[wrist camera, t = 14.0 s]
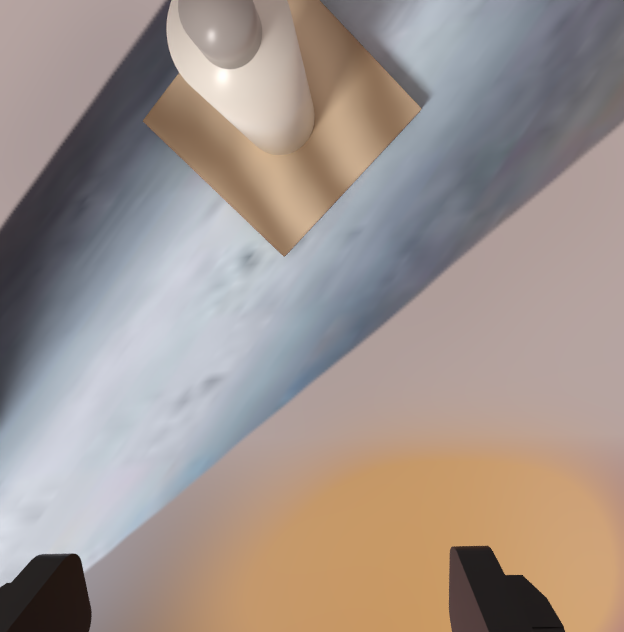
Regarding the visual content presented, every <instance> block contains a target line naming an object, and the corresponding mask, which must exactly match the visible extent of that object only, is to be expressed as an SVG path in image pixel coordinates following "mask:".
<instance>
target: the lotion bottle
mask: <svg viewBox="0 0 624 632" xmlns="http://www.w3.org/2000/svg"><path fill="white" fill-rule="evenodd" d="M167 41H168V46H169V50H170V54H171V57H172V59H173V62H174V64H175V66H176V68H177V69H178V71H179V73H180V74H181V76H182V77H183V78H184V80H185V81H186V82H187V83H188V84H189V85H190V86H191V87H192V88H193V89H194V90H195V91H196V92H198V93H199V94H200V95H201V96H202V97H203V98H204V99H205V100H206V101H207V102H209V103H210V104H211V105H212V106H213V107H214V108H215V109H216V110H217V111H218V112H220V113H221V114H222V115H223V116H224V117H225V118H226V119H227V120H228V121H229V122H230V123H232V124H233V125H234V126H235V127H236V128H237V129H238V130H239V131H240V132H241V133H243V134H244V135H245V136H246V137H247V138H248V139H249V140H250V141H251V142H252V143H253V144H255V145H256V146H257V147H258V148H259V149H261V150H262V151H264V152H266V153H269V154H272V155H286V154H290V153H292V152H295V151H296V150H298V149H299V148H301V147H302V146H303V145H304V144H305V143H306V141H307V140H308V139H309V137H310V135H311V133H312V130H313V127H314V121H315V112H314V106H313V102H312V98H311V94H310V90H309V86H308V81H307V77H306V73H305V69H304V65H303V60H302V56H301V52H300V48H299V44H298V40H297V35H296V31H295V27H294V23H293V19H292V15H291V11H290V7H289V4H288V1H287V0H172V1H171V3H170V7H169V11H168V17H167Z"/></svg>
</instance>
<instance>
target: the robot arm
mask: <svg viewBox="0 0 624 632" xmlns="http://www.w3.org/2000/svg"><path fill="white" fill-rule="evenodd" d="M449 613H450V621H451V628H452V632H565V630H564V626H563V625H562V623H561V621H560V620H559V618H558V616H557V615H556V613H555V611H554V610H553V608H552V606H551V605H550V603H549V601H548V599H547V598H546V597H545V596H544V595H543V594H542V593H541V592H539V590H538V589H537V588H535V587H534V586H533V585H532V584H531V583H530V582H529V581H528V580H527V579H526V578H525V577H524V576H523V575H505V574H504V572H503V570H502V569H501V566H500V564H499V562H498V560H497V558H496V557H495V555H494V553H493V551H492V549H491V548H490V547H489V546H462V547H461V546H459V547H451V549H450V574H449ZM90 624H91V606H90V601H89V597H88V592H87V587H86V582H85V578H84V572H83V568H82V563H81V559H80V557H79V556H78V555H77V554H41V555H38V556H36V557H35V558H33V559H32V560H31V561H30V562H29V563H28V565H27V566H26V567H25V568H24V569H23V570H22V571H21V572H20V574H19V575H18V576H17V577H16V578H15V579H14V580H13V581H12V582H11V583H6V584H5V585H3V586H2V587H1V588H0V632H89V629H90Z"/></svg>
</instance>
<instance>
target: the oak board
mask: <svg viewBox="0 0 624 632" xmlns="http://www.w3.org/2000/svg"><path fill="white" fill-rule="evenodd" d="M287 1H288V4H289V7H290V11H291V15H292V19H293V23H294V27H295V31H296V35H297V40H298V44H299V48H300V52H301V56H302V60H303V65H304V69H305V73H306V77H307V81H308V86H309V90H310V94H311V98H312V102H313V106H314V112H315V121H314V127H313V130H312V133H311V135H310V137H309V139H308V140H307V141H306V143H305V144H304V145H303V146H302V147H301V148H299V149H298V150H296V151H295V152H292V153H290V154H286V155H272V154H269V153H266V152H264V151H262V150H261V149H259V148H258V147H257V146H256V145H255V144H253V143H252V142H251V141H250V140H249V139H248V138H247V137H246V136H245V135H244V134H243V133H241V132H240V131H239V130H238V129H237V128H236V127H235V126H234V125H233V124H232V123H230V122H229V121H228V120H227V119H226V118H225V117H224V116H223V115H222V114H221V113H220V112H218V111H217V110H216V109H215V108H214V107H213V106H212V105H211V104H210V103H209V102H207V101H206V100H205V99H204V98H203V97H202V96H201V95H200V94H199V93H198V92H196V91H195V90H194V89H193V88H192V87H191V86H190V85H189V84H188V83H187V82H186V81H185V80H184V78H183V77H182V76H181V74H180V73H179V74H178V75H177V76H176V78H175V79H174V80H173V82H172V83H171V84H170V86H169V87H168V88H167V90H166V91H165V92H164V93H163V95H162V96H161V97H160V99H159V100H158V101H157V103H156V104H155V105H154V107H153V108H152V109H151V111H150V112H149V113H148V115H147V116H146V117H145V119H144V120H143V122H144V123H145V124H146V125H147V126H148V127H149V128H150V129H151V130H152V131H153V132H155V133H156V134H157V135H158V136H159V137H160V138H161V139H162V140H163V141H164V142H165V143H166V144H167V145H168V146H169V147H170V148H171V149H172V150H173V151H174V152H175V153H176V154H177V155H178V156H180V157H181V158H182V159H183V160H184V161H185V162H186V163H187V164H188V165H189V166H190V167H191V168H192V169H193V170H194V171H195V172H196V173H197V174H198V175H199V176H200V177H201V178H202V179H203V180H205V181H206V182H207V183H208V184H209V185H210V186H211V187H212V188H213V189H214V190H215V191H216V192H217V193H218V194H219V195H220V196H221V197H222V198H223V199H224V200H225V201H226V202H227V203H228V204H230V205H231V206H232V207H233V208H234V209H235V210H236V211H237V212H238V213H239V214H240V215H241V216H242V217H243V218H244V219H245V220H246V221H247V222H248V223H249V224H250V225H251V226H252V227H253V228H255V229H256V230H257V231H258V232H259V233H260V234H261V235H262V236H263V237H264V238H265V239H266V240H267V241H268V242H269V243H270V244H271V245H272V246H273V247H274V248H275V249H276V250H277V251H278V252H280V253H281V254H282V255H283V256H286V255H287V254H288V253H289V252H290V251H291V249H292V248H293V247H294V246H295V245H296V244H297V243H298V242H299V241H300V240H301V239H302V238H303V237H304V235H305V234H306V233H307V232H308V231H309V230H310V229H311V228H312V227H313V226H314V225H315V224H316V223H317V222H318V220H319V219H320V218H321V217H322V216H323V215H324V214H325V213H326V212H327V211H328V210H329V209H330V208H331V206H332V205H333V204H334V203H335V202H336V201H337V200H338V199H339V198H340V197H341V196H342V195H343V194H344V193H345V191H346V190H347V189H348V188H349V187H350V186H351V185H352V184H353V183H354V182H355V181H356V180H357V179H358V177H359V176H360V175H361V174H362V173H363V172H364V171H365V170H366V169H367V168H368V167H369V166H370V165H371V164H372V162H373V161H374V160H375V159H376V158H377V157H378V156H379V155H380V154H381V153H382V152H383V151H384V150H385V148H386V147H387V146H388V145H389V144H390V143H391V142H392V141H393V140H394V139H395V138H396V137H397V136H398V135H399V133H400V132H401V131H402V130H403V129H404V128H405V127H406V126H407V125H408V124H409V123H410V122H411V121H412V119H413V118H414V117H415V116H416V115H417V114H418V113H419V112H420V110H421V108H420V107H419V105H418V104H417V103H416V102H415V101H414V100H413V99H412V98H411V97H410V96H409V95H408V94H407V93H406V92H405V91H404V90H403V88H402V87H401V86H400V85H399V84H398V83H397V82H396V81H395V80H394V79H393V78H392V77H391V76H390V75H389V74H388V73H387V71H386V70H385V69H384V68H383V67H382V66H381V65H380V64H379V63H378V62H377V61H376V60H375V59H374V58H373V57H372V56H371V54H370V53H369V52H368V51H367V50H366V49H365V48H364V47H363V46H362V45H361V44H360V43H359V42H358V41H357V40H356V39H355V37H354V36H353V35H352V34H351V33H350V32H349V31H348V30H347V29H346V28H345V27H344V26H343V25H342V24H341V23H340V22H339V20H338V19H337V18H336V17H335V16H334V15H333V14H332V13H331V12H330V11H329V10H328V9H327V8H326V7H325V6H324V5H323V3H322V2H321V1H320V0H287Z"/></svg>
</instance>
